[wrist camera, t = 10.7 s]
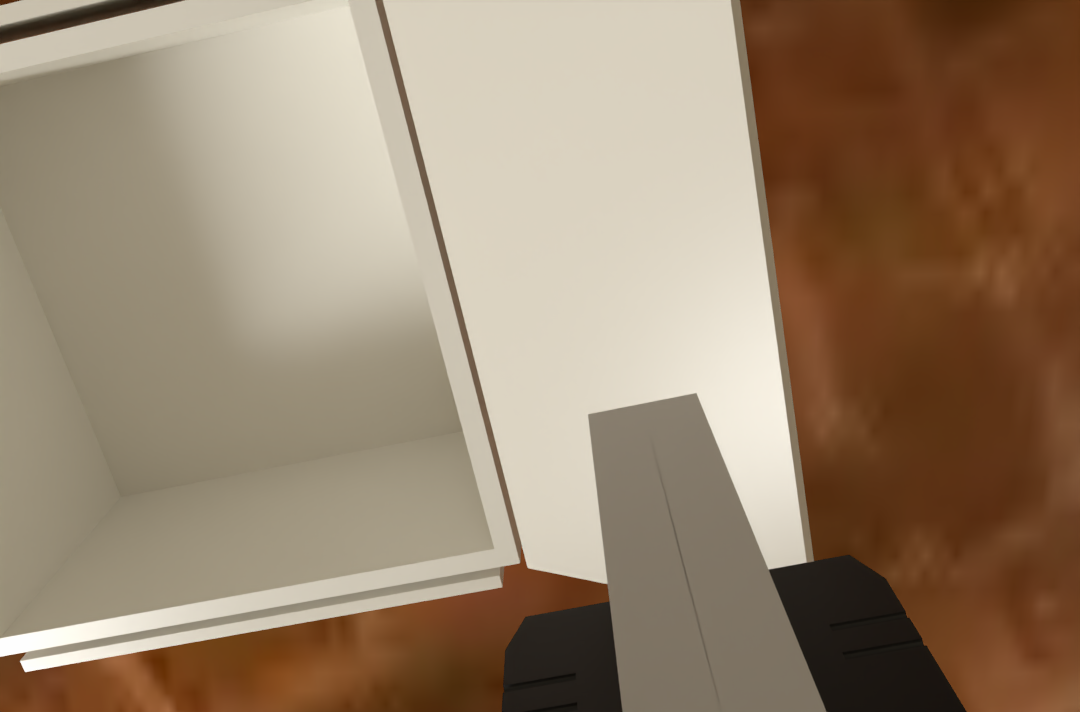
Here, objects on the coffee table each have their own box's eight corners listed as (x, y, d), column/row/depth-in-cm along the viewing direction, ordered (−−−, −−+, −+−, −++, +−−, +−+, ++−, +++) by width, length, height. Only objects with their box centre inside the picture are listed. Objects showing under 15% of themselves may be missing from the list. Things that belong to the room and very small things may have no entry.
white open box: (106, 527, 37) (-26, 684, 28) (-94, 61, 31) (-337, 85, 22) (531, 446, 35) (526, 587, 27) (410, -59, 29) (354, -81, 21)
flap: (815, 625, 21) (820, 614, 22) (712, -136, 16) (721, -136, 16) (527, 568, 26) (535, 560, 26) (373, -37, 21) (385, -38, 21)
